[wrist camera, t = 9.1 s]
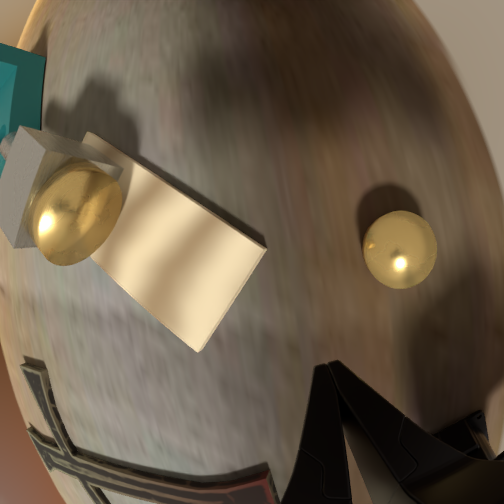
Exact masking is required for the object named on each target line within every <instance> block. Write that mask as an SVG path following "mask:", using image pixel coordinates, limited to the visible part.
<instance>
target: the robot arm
mask: <svg viewBox="0 0 504 504" xmlns="http://www.w3.org/2000/svg"><path fill="white" fill-rule="evenodd" d="M479 415H480V416H479ZM478 416H479V417H478ZM344 434H345V437H346V439H347V441H348V444H349V446H350V449H351V451H352V453H353V456H354V458H355V461H356V463H357V465H358V468H359V470H360V473H361V475H362V477H363V480H364V482H365V485H366V487H367V490H368V492H369V494H370V497H371V499H372V502H373V504H504V451H503V452H502V453H501V454H499V455H498V456H497V457H496V455H495V453H494V451H493V450H492V448H491V446H490V444H489V441H488V434H487V428H486V422H485V416H484V413H483V411H482V410H479V411H477V412H475V413H473V414H472V415H470V416H468V417H467V418H465V419H463V420H461V421H460V422H458V423H456V424H454V425H452V426H450V427H449V428H447V429H445V430H443V431H441V432H439V433H437V434H435V435H433V436H432V435H431V434H429V433H428V432H426V431H425V430H423V429H422V428H421V427H419V426H418V425H417V424H415V423H414V422H413V421H411V420H410V419H409V418H408V417H405V415H404V414H403V413H402V412H400V411H399V410H398V409H397V408H395V407H394V406H393V405H392V404H391V403H389V402H388V401H387V400H386V399H385V398H383V397H382V396H381V395H380V394H379V393H377V392H376V391H375V390H374V389H373V388H371V387H370V386H369V385H368V384H367V383H365V382H364V381H363V380H362V379H361V378H360V377H358V376H357V375H356V374H355V373H354V372H352V371H351V370H350V369H349V368H348V367H347V366H345V365H344V364H343V363H342V362H341V361H339V360H334V361H331V362H328V363H327V364H325V363H324V364H320V365H316V366H314V368H313V374H312V380H311V386H310V392H309V398H308V403H307V409H306V414H305V420H304V425H303V430H302V435H301V440H300V444H299V450H298V453H297V458H296V462H295V465H294V469H293V473H292V475H291V478H290V481H289V484H288V486H287V489H286V491H285V493H284V496H283V498H282V500H281V502H280V504H352V495H351V486H350V477H349V469H348V461H347V454H346V446H345V439H344Z"/></svg>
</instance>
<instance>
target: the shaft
mask: <svg viewBox="0 0 504 504" xmlns="http://www.w3.org/2000/svg"><path fill="white" fill-rule="evenodd" d="M16 133H17V132H11V133H9V134H7V135H6V136H5V137H4V138H3V140H2V142H1V144H0V153H1V155H2V156H3V158H4V159H5V160H7V157H8V154H9V151H10V149H11V146H12V143H13V141H14V138H15V136H16ZM121 207H122V192H121V189H120V186H119V184H118V183H117V181H116V180H115V179H114V178H113V177H111V176H110V175H109V174H107V173H106V172H105V171H103V170H102V169H101V168H99V167H98V166H96V165H95V164H92V163H87V162H79V163H74V164H71V165H68V166H66V167H64V168H62V169H60V170H59V171H57V172H56V173H54V174H53V175H52V176H51V177H50V178H49V179H48V180H47V181H46V182H45V183H44V184H43V185H42V186H41V188H40V189H39V191H38V192H37V194H36V196H35V198H34V200H33V202H32V205H31V208H30V212H29V218H28V228H29V233H30V236H31V238H32V240H33V242H34V243H35V244H36V246H37V247H38V248H39V250H40V251H41V252H42V254H43V255H44V256H45V257H46V259H47V260H48V261H50V262H51V263H53V264H56V265H60V266H67V265H72V264H75V263H78V262H80V261H82V260H84V259H86V258H87V257H89V256H90V255H91V254H93V253H94V252H95V251H96V250H97V249H98V248H99V247H100V246H101V245H102V244H103V243H104V242H105V241H106V239H107V238H108V237H109V235H110V234H111V232H112V230H113V229H114V227H115V225H116V223H117V220H118V218H119V215H120V211H121Z"/></svg>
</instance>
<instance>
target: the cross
mask: <svg viewBox="0 0 504 504" xmlns="http://www.w3.org/2000/svg"><path fill="white" fill-rule="evenodd" d="M20 368H21V370H22V373H23V375H24V377H25V379H26V382H27V384H28V386H29V388H30V390H31V392H32V394H33V396H34V399H35V401H36V403H37V404H38V406H39V408H40V410H41V412H42V414H43V417H44V419H45V421H46V423H47V425H48V427H49V429H50V431H51V433H52V435H53V437H54V439H55V441H56V443H57V444H55V443H52V442H50V441H47V440H45V439H44V438H43V437H42V436H41V435H40V434H39V433H38V432H36V431H35V430H34V429H33V428H32V427H30V428H28V429H27V432H28V434H29V436H30V438H31V440H32V442H33V444H34V445H35V447H36V449H37V451H38V453H39V455H40V456H41V458H42V460H43V462H44V463H45V465H46V467H47V468H48V470H49V472H52V471H54V470H58V471H60V472H62V473H64V474H66V475H69V476H71V477H73V478H75V479H78V480H79V482H80V483H81V485H82V487H83V488H84V490H85V491H86V492H87V494H88V495H89V497H90V498H91V500H92V501H93V503H94V504H111V503H110V502H109V500H108V499H107V498H106V496H105V495H104V493H103V492H102V491H101V489H100V488H102V489H105V490H108V491H111V492H115V493H118V494H122V495H125V496H129V497H133V498H137V499H140V500H144V501H149V502H153V503H157V504H280V501H279V498H278V495H277V491H276V488H275V485H274V482H273V478H272V475H271V472H270V470H267V471H264V472H261V473H258V474H254V475H251V476H247V477H244V478H240V479H237V480H233V481H226V482H211V483H200V482H194V481H188V480H182V479H177V478H172V477H166V476H161V475H156V474H152V473H147V472H143V471H139V470H135V469H131V468H127V467H123V466H120V465H116V464H113V463H110V462H106V461H103V460H100V459H97V458H94V457H91V456H88V455H85V454H83V453H80V452H78V451H77V449H76V448H75V446H74V444H73V443H72V441H71V439H70V437H69V435H68V433H67V431H66V429H65V426H64V424H63V422H62V419H61V417H60V414H59V412H58V410H57V407H56V403H55V399H54V396H53V392H52V388H51V384H50V379H49V375H48V370H47V369H44V368H41V367H37V366H34V365H31V364H28V363H24V364H21V365H20Z"/></svg>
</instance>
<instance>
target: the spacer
mask: <svg viewBox="0 0 504 504" xmlns="http://www.w3.org/2000/svg"><path fill="white" fill-rule="evenodd" d="M362 253H363V258H364V261H365V264H366V266H367V268H368V269H369V271H370V272H371V273H372V274H373V276H374V277H375V278H376V279H377V280H378V281H380V282H381V283H382V284H384V285H386V286H389V287H392V288H397V289H404V288H409V287H412V286H415V285H417V284H418V283H420V282H421V281H423V280H424V279H425V278H426V277H427V276H428V274H429V273H430V271H431V270H432V268H433V266H434V263H435V260H436V254H437V245H436V239H435V236H434V233H433V231H432V229H431V227H430V226H429V225H428V223H427V222H426V221H425V220H424V219H423V218H421V217H420V216H418V215H417V214H414V213H412V212H408V211H394V212H390V213H387V214H385V215H383V216H381V217H379V218H378V219H376V220H375V221H374V222H373V223H372V224H371V225H370V226H369V228H368V229H367V231H366V233H365V235H364V238H363V243H362Z"/></svg>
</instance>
